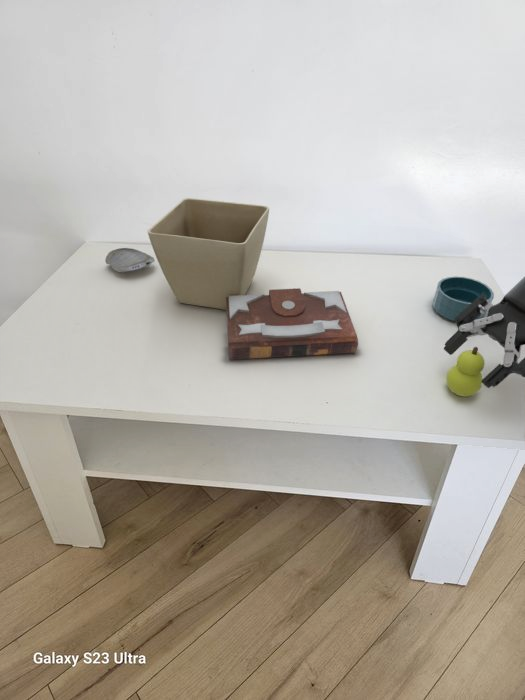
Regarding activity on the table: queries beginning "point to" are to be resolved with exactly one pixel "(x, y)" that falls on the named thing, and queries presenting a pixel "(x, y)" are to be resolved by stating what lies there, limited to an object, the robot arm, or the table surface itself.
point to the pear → (466, 373)
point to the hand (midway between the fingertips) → (465, 367)
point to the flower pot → (209, 249)
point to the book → (289, 324)
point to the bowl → (459, 296)
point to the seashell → (128, 259)
